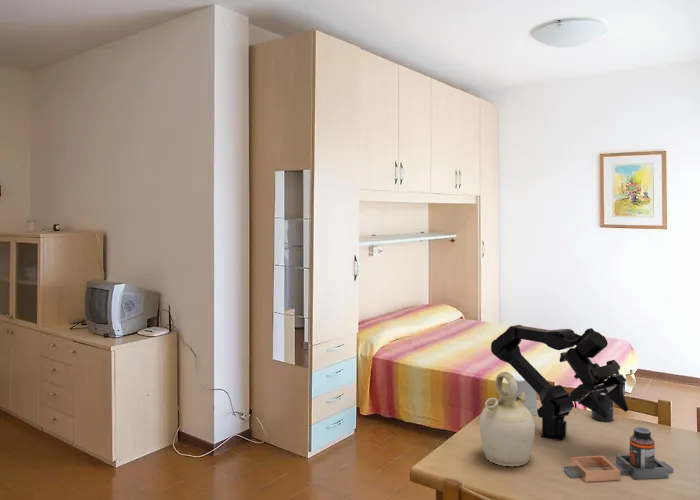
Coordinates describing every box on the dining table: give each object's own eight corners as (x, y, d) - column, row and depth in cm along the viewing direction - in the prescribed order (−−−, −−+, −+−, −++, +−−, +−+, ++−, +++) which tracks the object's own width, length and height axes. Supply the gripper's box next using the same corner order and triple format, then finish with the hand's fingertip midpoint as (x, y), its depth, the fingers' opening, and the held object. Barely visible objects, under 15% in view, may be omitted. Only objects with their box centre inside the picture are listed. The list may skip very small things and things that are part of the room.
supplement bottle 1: (616, 422, 186) (616, 386, 186) (593, 421, 188) (594, 386, 187) (610, 415, 193) (611, 380, 192) (589, 414, 194) (589, 379, 194)
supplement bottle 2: (624, 466, 156) (625, 426, 155) (645, 464, 156) (646, 424, 155) (637, 476, 150) (638, 434, 149) (659, 475, 150) (659, 433, 149)
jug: (492, 472, 154) (492, 382, 152) (471, 449, 169) (470, 366, 167) (545, 467, 156) (545, 378, 154) (519, 444, 171) (519, 363, 169)
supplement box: (537, 415, 194) (537, 379, 194) (517, 417, 193) (517, 381, 192) (527, 408, 202) (527, 373, 201) (507, 410, 200) (507, 374, 199)
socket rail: (574, 482, 147) (574, 473, 147) (559, 466, 156) (559, 457, 156) (679, 477, 149) (679, 467, 148) (658, 461, 158) (658, 452, 158)
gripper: (579, 356, 156) (615, 407, 148) (620, 346, 166) (656, 393, 158) (555, 377, 164) (589, 427, 155) (596, 367, 173) (629, 412, 165)
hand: (617, 414), depth 158 cm, fingers open, 9 cm apart
